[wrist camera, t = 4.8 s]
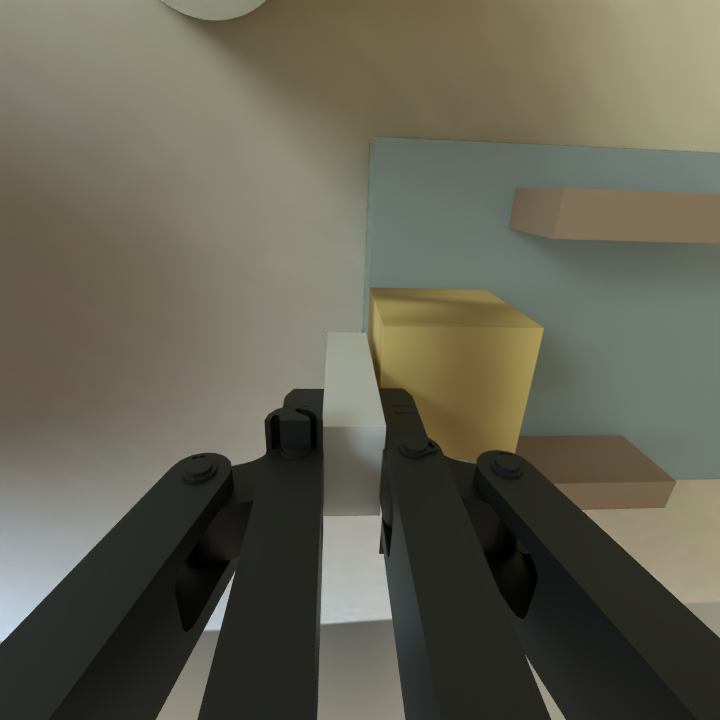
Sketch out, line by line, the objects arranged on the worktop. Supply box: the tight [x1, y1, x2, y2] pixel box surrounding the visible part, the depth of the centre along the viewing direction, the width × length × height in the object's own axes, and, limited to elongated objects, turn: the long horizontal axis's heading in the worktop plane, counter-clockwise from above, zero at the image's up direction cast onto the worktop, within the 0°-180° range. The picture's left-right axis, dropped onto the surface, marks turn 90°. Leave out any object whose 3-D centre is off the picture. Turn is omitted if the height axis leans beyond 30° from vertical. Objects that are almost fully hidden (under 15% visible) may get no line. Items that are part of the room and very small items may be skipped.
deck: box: [363, 137, 720, 510], centre depth 18 cm, size 27×16×6 cm, turn 88°
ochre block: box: [367, 287, 544, 460], centre depth 15 cm, size 5×5×5 cm
